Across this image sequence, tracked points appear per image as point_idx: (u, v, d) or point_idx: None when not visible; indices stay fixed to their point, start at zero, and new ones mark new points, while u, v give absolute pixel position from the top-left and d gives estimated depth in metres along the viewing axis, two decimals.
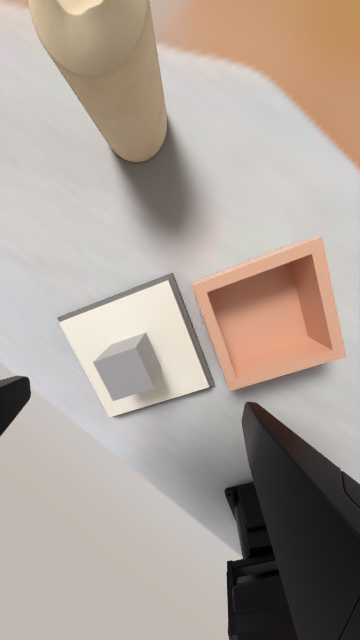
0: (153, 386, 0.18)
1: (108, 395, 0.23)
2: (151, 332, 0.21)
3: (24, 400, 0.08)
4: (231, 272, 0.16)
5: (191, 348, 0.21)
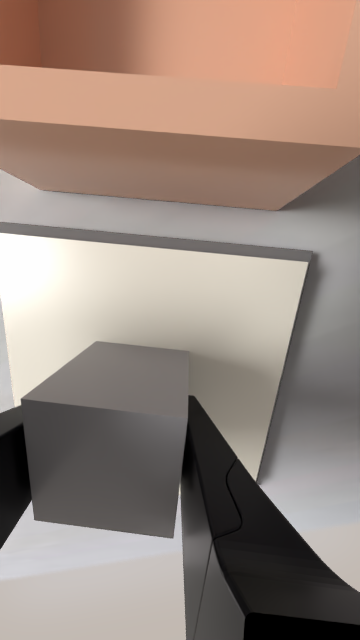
0: (182, 416, 0.05)
1: None
2: (100, 330, 0.09)
3: None
4: None
5: (178, 257, 0.08)
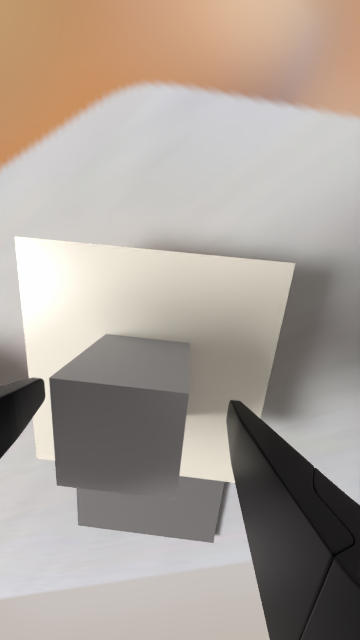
0: (184, 392, 0.06)
1: (201, 462, 0.11)
2: (109, 324, 0.10)
3: (39, 402, 0.08)
4: None
5: (179, 258, 0.09)
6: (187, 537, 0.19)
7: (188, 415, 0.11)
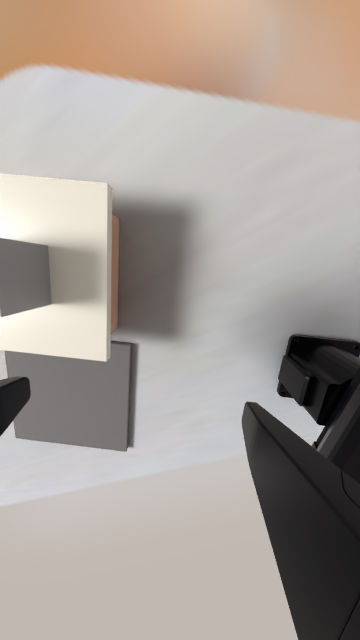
0: None
1: (71, 343, 0.15)
2: None
3: (24, 400, 0.08)
4: None
5: (31, 181, 0.13)
6: (105, 447, 0.23)
7: (56, 304, 0.15)
